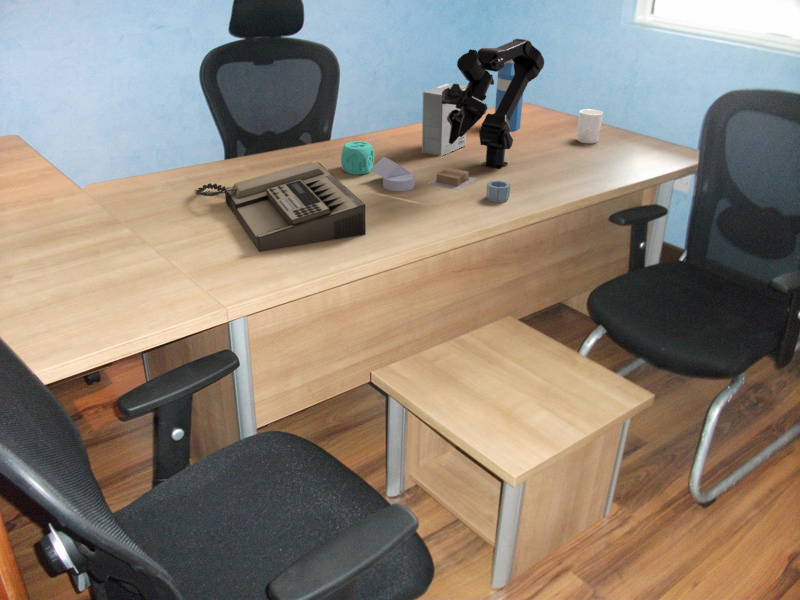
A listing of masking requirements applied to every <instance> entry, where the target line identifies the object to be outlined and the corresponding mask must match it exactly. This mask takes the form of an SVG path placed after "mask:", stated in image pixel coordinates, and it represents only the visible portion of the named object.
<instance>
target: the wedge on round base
mask: <svg viewBox="0 0 800 600" xmlns="http://www.w3.org/2000/svg"><path fill="white" fill-rule="evenodd" d="M370 172H373V173H374V174H377V175H378V176H380V177H381V178H382V187H383V188H384V189H385V190H387V191H393V192H406V191H410V190H412V189H414V188H415V175H414V173H412V172H411V171H409V170H408V169H406V168H405V167H403V166H402V165H400V164H398V163H397V162H395V161H393V160H392V159H389V158H387V157H386V156H383V157H381V159H380V160H379V161H377V162H376V164H374V165H373V167H372V169H371V171H370Z"/></svg>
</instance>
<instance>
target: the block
mask: <svg viewBox="0 0 800 600" xmlns="http://www.w3.org/2000/svg"><path fill="white" fill-rule="evenodd" d="M469 175H470V171H467V170H462V169H456V168H451V167H446V168H444V169H442V170H441V171H440V172H438V173H436V178H435V179H436V182H438V183H443V184H448V185H453V186H457V187H458V186H460V185H461V184H463V183H464V182H466V181H467V180H469V177H470V176H469Z"/></svg>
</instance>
